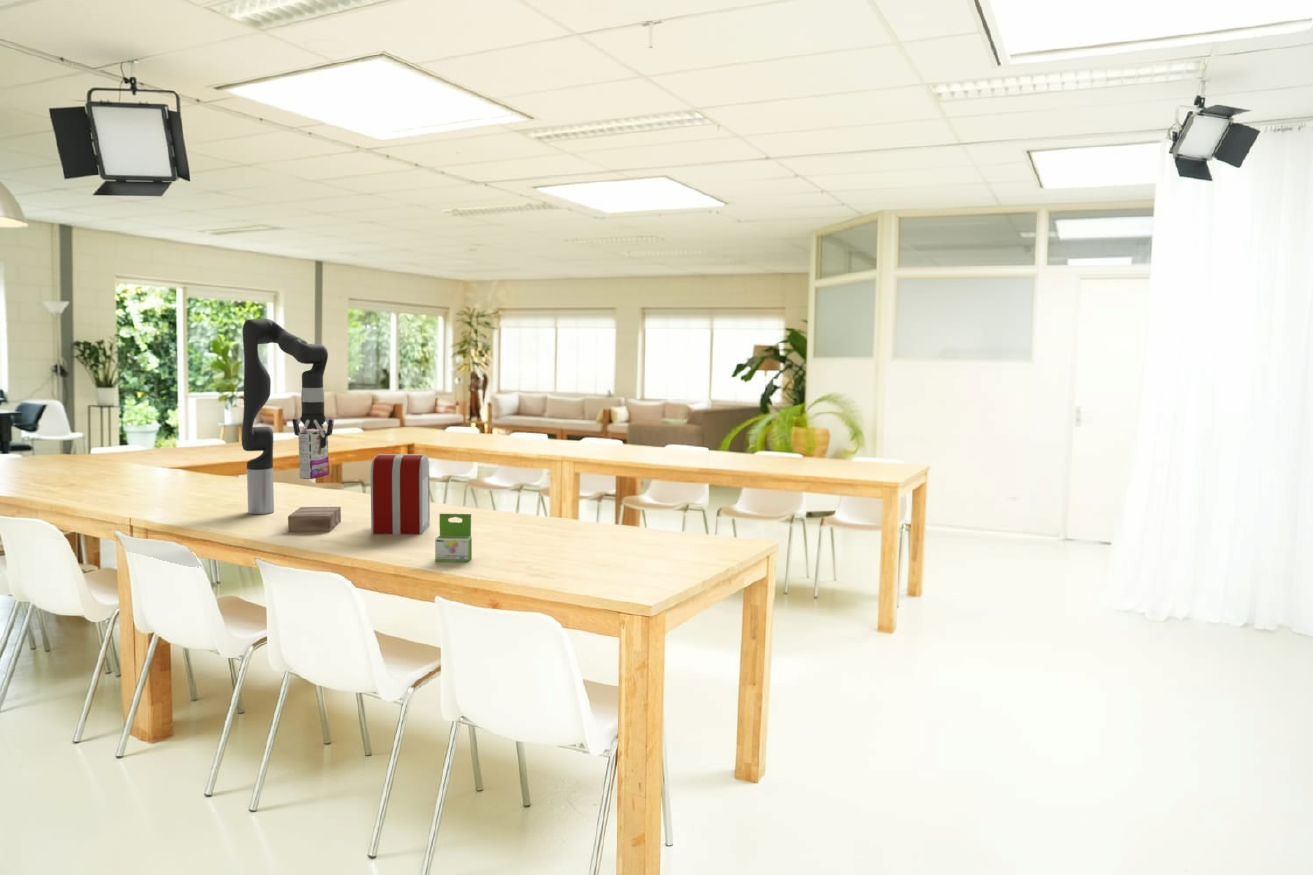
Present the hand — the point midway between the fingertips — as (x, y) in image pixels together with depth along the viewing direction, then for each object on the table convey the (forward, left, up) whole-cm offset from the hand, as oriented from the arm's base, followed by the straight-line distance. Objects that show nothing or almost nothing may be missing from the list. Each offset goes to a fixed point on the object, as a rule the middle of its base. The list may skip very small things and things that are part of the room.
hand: (313, 447), depth 309 cm
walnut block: (0, 0, -29) cm, 29 cm away
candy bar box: (0, 0, -11) cm, 11 cm away
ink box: (+51, +55, -29) cm, 81 cm away
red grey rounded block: (+5, +31, -29) cm, 43 cm away
